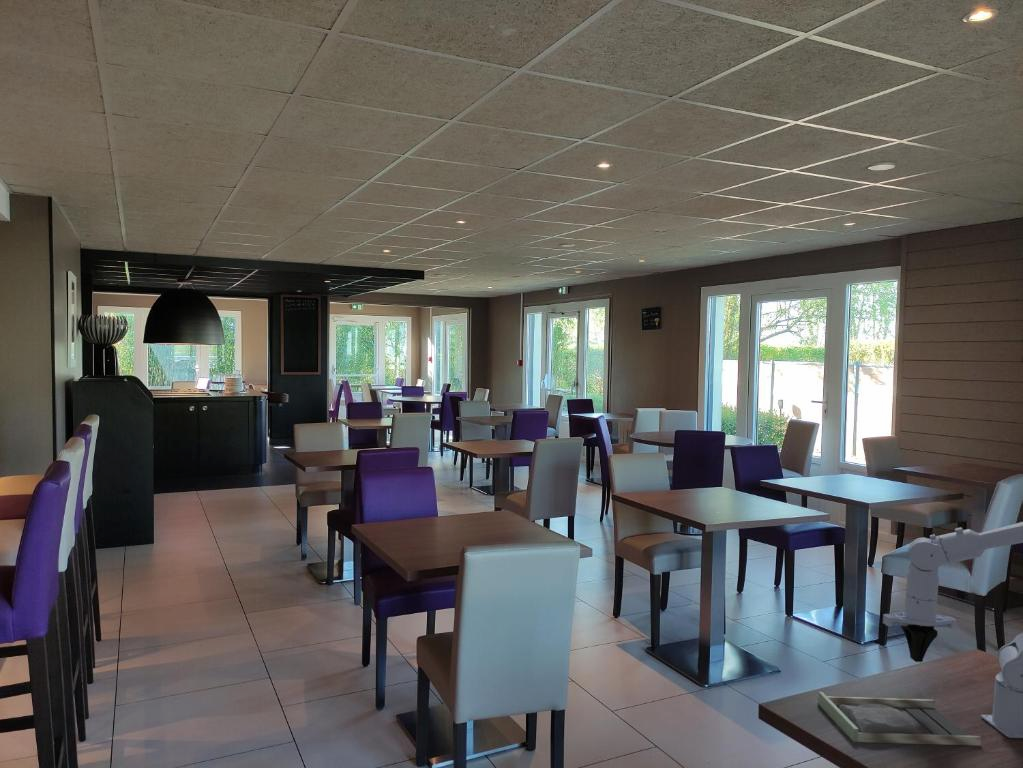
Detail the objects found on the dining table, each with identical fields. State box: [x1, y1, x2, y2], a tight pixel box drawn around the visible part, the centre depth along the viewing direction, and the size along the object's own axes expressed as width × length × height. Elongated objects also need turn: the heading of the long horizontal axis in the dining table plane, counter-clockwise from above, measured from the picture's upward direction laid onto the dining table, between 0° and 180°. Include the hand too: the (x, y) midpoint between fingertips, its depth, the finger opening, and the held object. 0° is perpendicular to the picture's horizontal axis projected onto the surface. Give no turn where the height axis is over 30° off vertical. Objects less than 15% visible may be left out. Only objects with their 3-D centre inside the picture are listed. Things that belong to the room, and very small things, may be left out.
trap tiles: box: [902, 707, 969, 736], centre depth 142 cm, size 7×12×1 cm, turn 2°
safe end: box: [817, 691, 859, 743], centre depth 141 cm, size 1×14×2 cm, turn 2°
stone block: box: [838, 704, 918, 734], centre depth 140 cm, size 12×5×10 cm
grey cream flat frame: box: [826, 695, 982, 746], centre depth 142 cm, size 24×14×2 cm, turn 92°
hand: (916, 659), depth 150 cm, fingers closed
